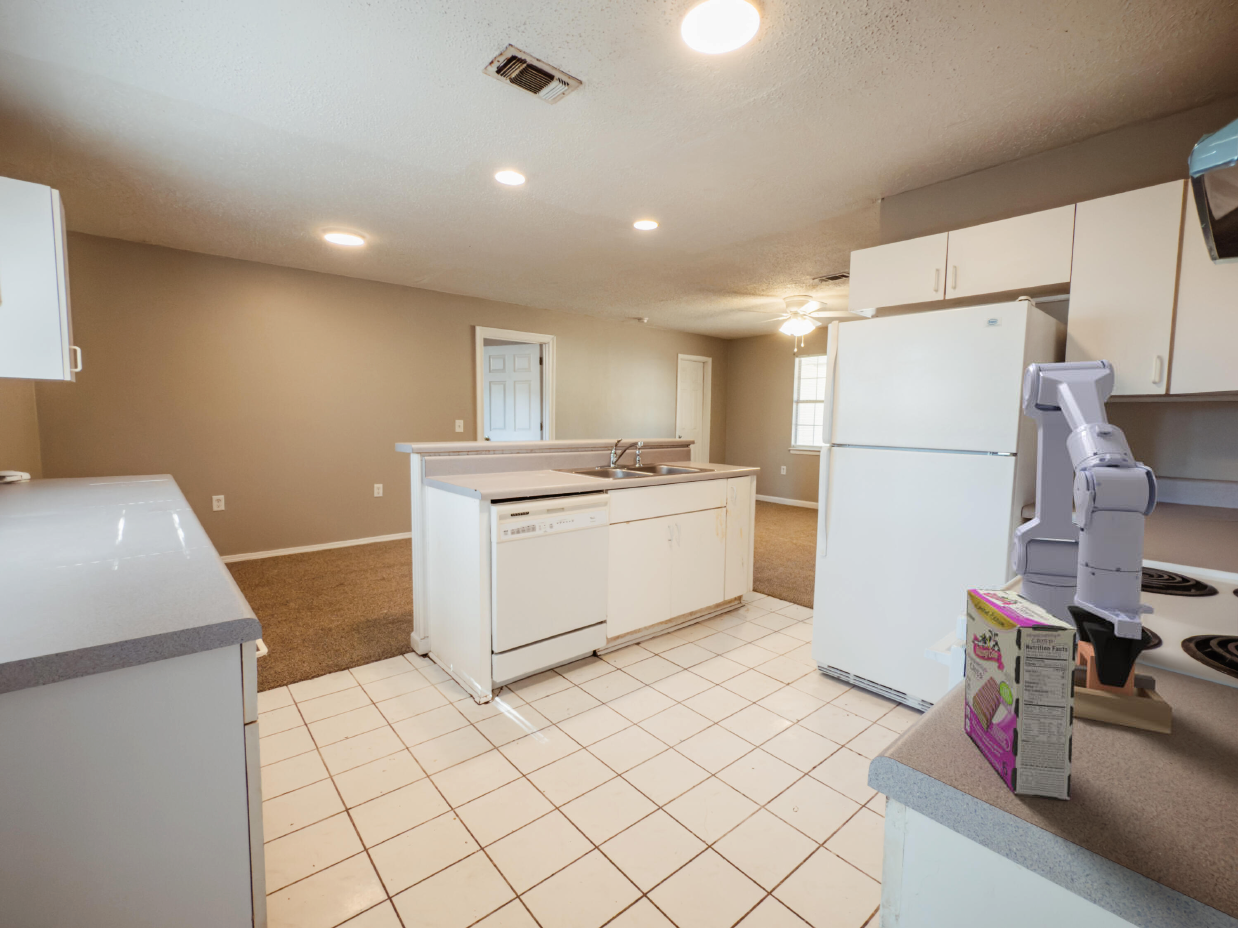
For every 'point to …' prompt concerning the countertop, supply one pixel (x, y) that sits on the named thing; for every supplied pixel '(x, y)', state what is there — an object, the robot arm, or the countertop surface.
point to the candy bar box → (1020, 691)
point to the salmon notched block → (1088, 659)
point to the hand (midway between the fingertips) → (1103, 675)
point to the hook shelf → (1123, 704)
